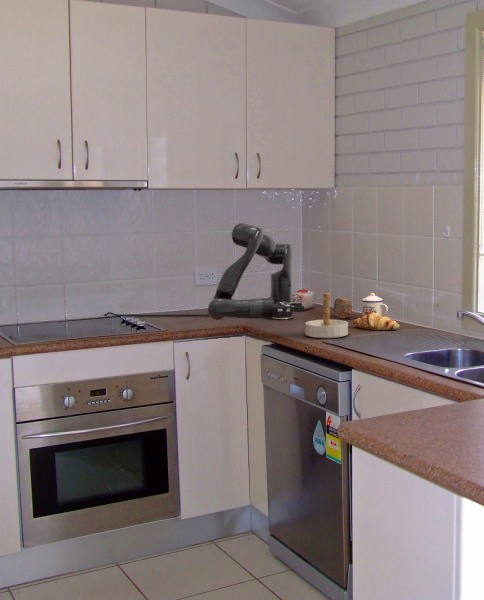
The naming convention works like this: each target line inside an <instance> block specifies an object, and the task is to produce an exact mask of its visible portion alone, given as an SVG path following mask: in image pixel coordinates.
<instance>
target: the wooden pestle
mask: <svg viewBox="0 0 484 600" xmlns="http://www.w3.org/2000/svg"><path fill="white" fill-rule="evenodd" d="M322 320H323V323H322V324H321V326H332V323H330V320H331V294H330V292H323V293H322Z"/></svg>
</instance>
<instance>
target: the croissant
mask: <svg viewBox="0 0 484 600" xmlns="http://www.w3.org/2000/svg"><path fill="white" fill-rule="evenodd" d="M351 323H352V324H353V325H355V326H356V327H358V328H359V329H364V330H368V331H369V330H370V331H390V330H398V329H399V328H400V324H399V323H397V321H396V320H393V319H391V318H390V316H386V315H382V316H381V315H380V314H378V313H373V312H371V313H370V314H369V315H368V316H364V317H363V316H362V317H357V318H356V319H351Z"/></svg>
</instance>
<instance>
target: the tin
mask: <svg viewBox="0 0 484 600" xmlns="http://www.w3.org/2000/svg"><path fill="white" fill-rule="evenodd" d="M352 311H353V305H352V302H351V301H350V300H349V299H344V298H340V297H339V298H338V297H337V298H336V299H335V300H334V303H333V313H334V316H335V317H336V318H340V319H342V320H344V319H345V320H346V319H350V318H351V317H352Z"/></svg>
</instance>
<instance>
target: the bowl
mask: <svg viewBox="0 0 484 600" xmlns="http://www.w3.org/2000/svg"><path fill="white" fill-rule="evenodd" d="M322 323H323V319H314V320H309V321H306V322H305V323H304V335H305V336H307V337H310V338H314V339H339V338H343V337H345V336H348V335H349V322H348V321H347V320H343V319H342V320H341V319H330V323H332V326H321V324H322Z"/></svg>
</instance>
